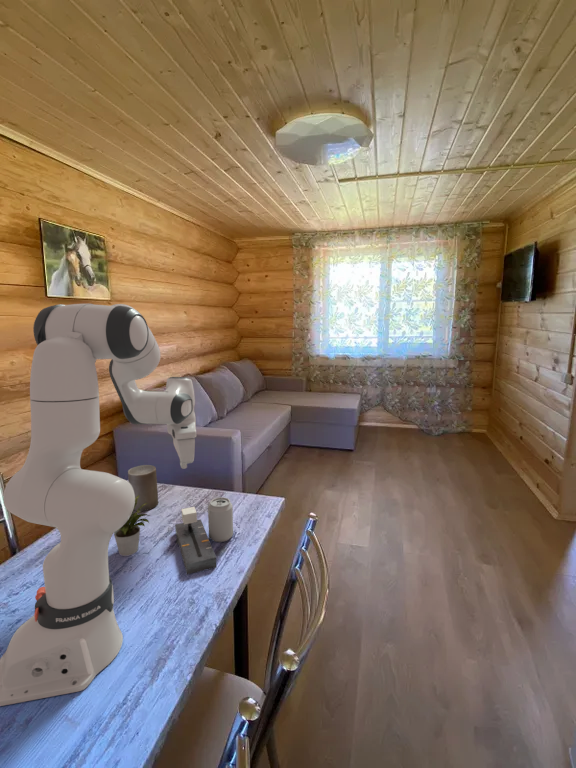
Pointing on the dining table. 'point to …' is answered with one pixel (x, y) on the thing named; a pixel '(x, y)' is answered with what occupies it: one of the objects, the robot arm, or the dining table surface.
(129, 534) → the house plant
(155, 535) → the dining table surface
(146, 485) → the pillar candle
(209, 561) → the fader panel
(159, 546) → the dining table surface
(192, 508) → the fader knob
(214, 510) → the can
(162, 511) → the dining table surface
